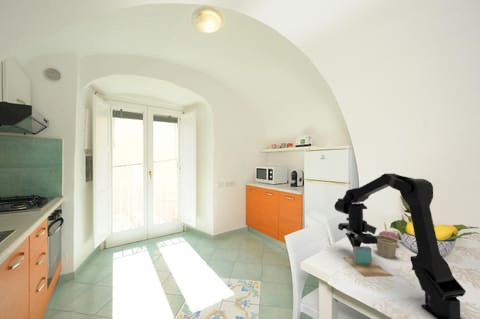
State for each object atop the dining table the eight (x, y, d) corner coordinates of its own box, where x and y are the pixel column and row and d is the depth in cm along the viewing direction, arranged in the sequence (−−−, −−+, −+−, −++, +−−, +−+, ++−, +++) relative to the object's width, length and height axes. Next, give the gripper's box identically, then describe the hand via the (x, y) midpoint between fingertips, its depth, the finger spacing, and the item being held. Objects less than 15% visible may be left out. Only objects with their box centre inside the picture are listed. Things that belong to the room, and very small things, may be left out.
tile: (371, 264, 78) (371, 248, 79) (356, 264, 78) (355, 248, 78) (368, 262, 80) (368, 246, 80) (353, 262, 80) (353, 246, 80)
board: (394, 278, 70) (394, 275, 70) (364, 279, 70) (364, 276, 70) (367, 259, 84) (367, 257, 84) (342, 260, 84) (342, 257, 84)
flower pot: (404, 263, 81) (404, 244, 82) (380, 261, 83) (380, 242, 83) (391, 253, 90) (391, 236, 91) (370, 251, 92) (370, 234, 93)
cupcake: (375, 243, 103) (375, 221, 103) (384, 240, 106) (384, 219, 106) (394, 249, 95) (393, 226, 95) (402, 246, 98) (402, 224, 99)
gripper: (390, 223, 75) (390, 261, 74) (358, 211, 93) (358, 242, 93) (363, 223, 74) (364, 262, 74) (337, 211, 93) (337, 242, 92)
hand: (356, 251), depth 83 cm, fingers closed
